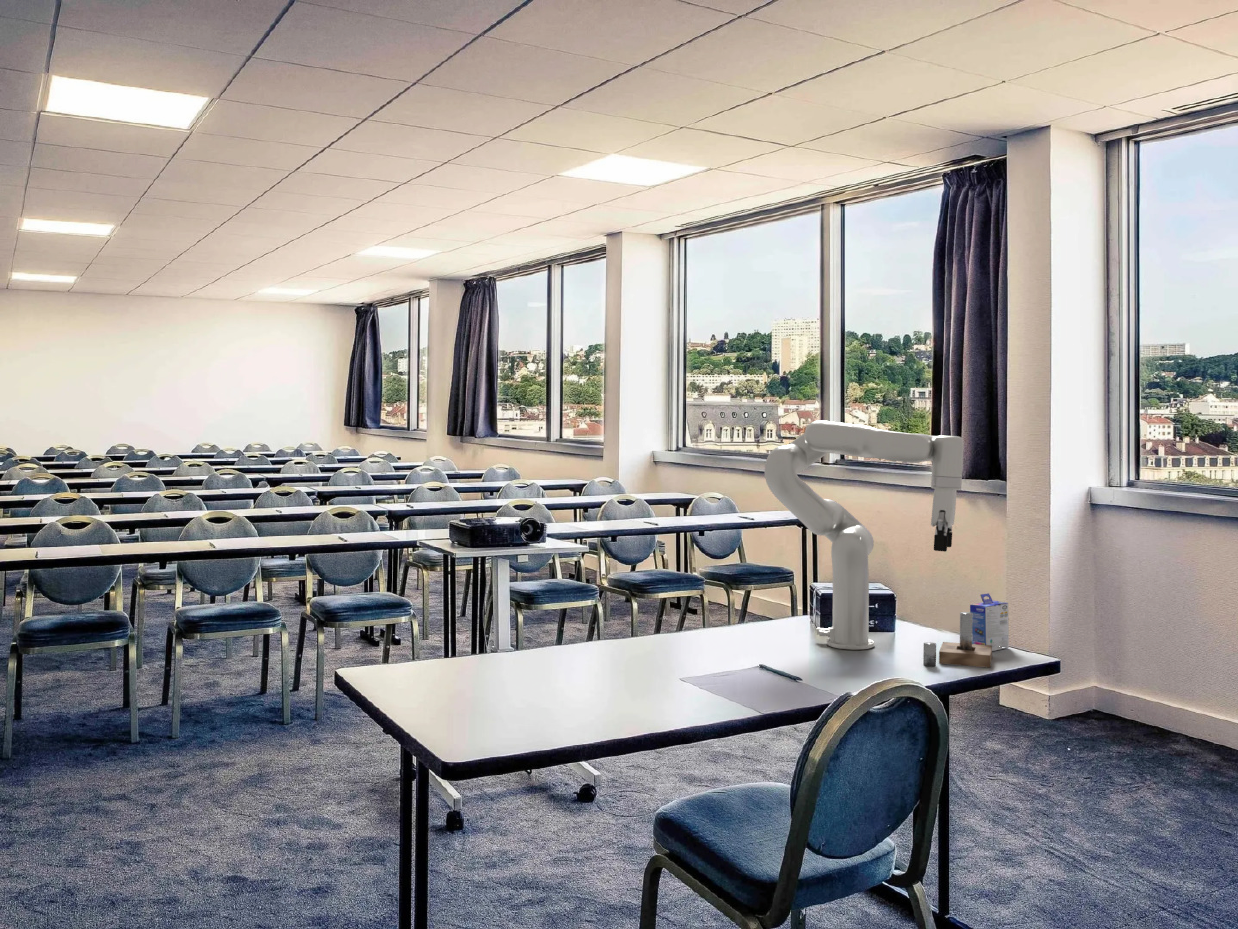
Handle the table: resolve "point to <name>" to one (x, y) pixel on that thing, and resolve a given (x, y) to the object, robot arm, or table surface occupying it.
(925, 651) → the short pin
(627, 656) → the table surface
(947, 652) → the socket block
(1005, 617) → the ink cartridge box
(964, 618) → the long pin
